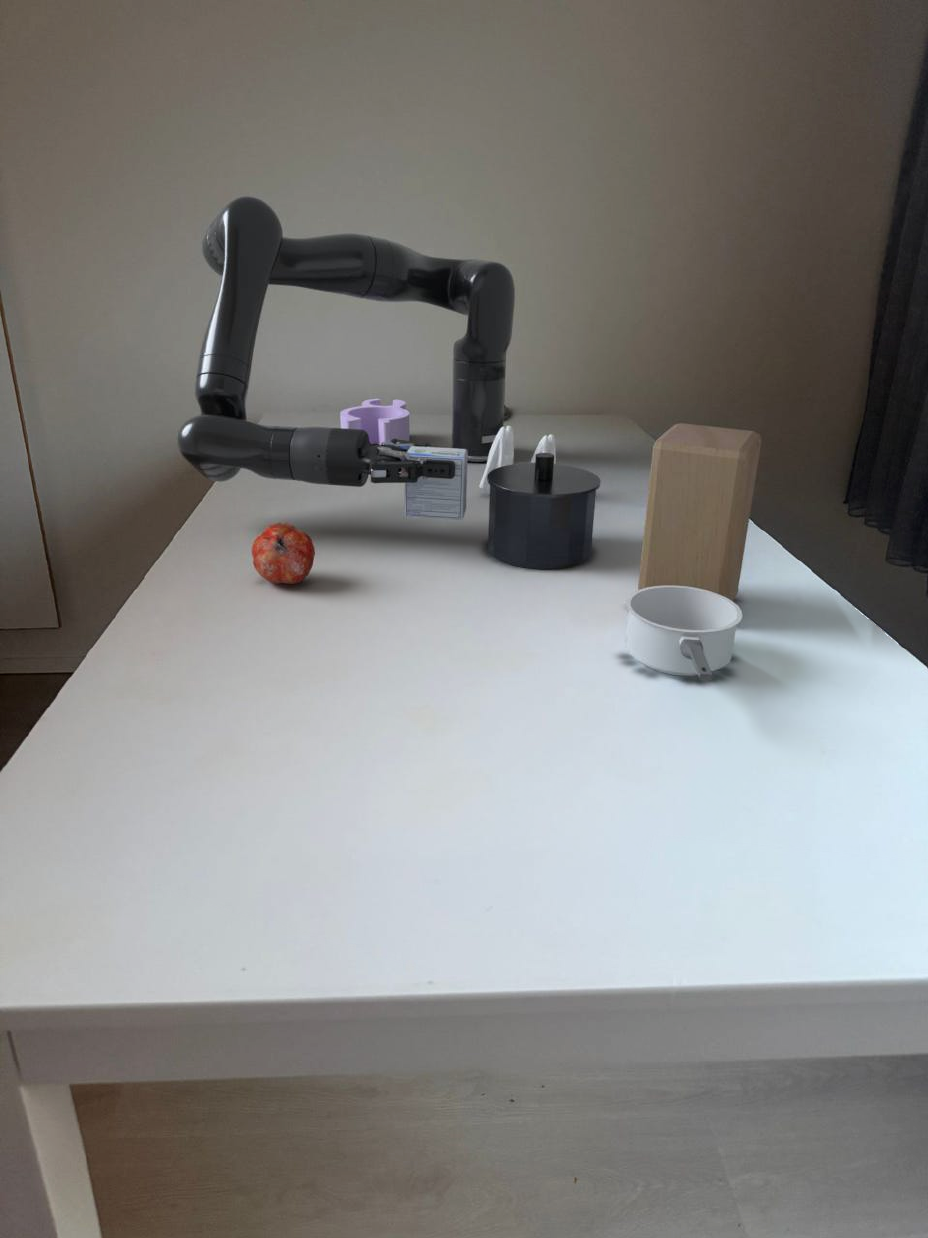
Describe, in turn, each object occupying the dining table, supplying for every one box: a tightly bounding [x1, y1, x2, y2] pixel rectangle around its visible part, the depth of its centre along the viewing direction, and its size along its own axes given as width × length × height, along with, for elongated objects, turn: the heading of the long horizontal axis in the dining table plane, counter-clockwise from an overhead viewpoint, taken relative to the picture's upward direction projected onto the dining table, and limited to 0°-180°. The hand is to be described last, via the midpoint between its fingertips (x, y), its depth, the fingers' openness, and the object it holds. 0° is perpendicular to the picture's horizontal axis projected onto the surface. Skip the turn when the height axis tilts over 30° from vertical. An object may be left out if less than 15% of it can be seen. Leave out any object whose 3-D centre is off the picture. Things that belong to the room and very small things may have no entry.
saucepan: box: [625, 585, 743, 683], centre depth 88 cm, size 12×20×6 cm, turn 175°
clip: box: [339, 398, 410, 445], centre depth 168 cm, size 20×12×7 cm, turn 174°
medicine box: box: [404, 446, 468, 521], centre depth 120 cm, size 8×4×9 cm, turn 84°
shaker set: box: [479, 425, 557, 495], centre depth 141 cm, size 12×4×11 cm, turn 93°
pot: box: [487, 485, 597, 570], centre depth 119 cm, size 14×14×10 cm
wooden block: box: [637, 422, 762, 602], centre depth 101 cm, size 10×10×20 cm
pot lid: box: [487, 453, 601, 498], centre depth 116 cm, size 15×15×4 cm
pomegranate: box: [251, 522, 316, 585], centre depth 109 cm, size 7×7×10 cm
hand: (457, 464), depth 119 cm, fingers closed on medicine box, 4 cm apart
